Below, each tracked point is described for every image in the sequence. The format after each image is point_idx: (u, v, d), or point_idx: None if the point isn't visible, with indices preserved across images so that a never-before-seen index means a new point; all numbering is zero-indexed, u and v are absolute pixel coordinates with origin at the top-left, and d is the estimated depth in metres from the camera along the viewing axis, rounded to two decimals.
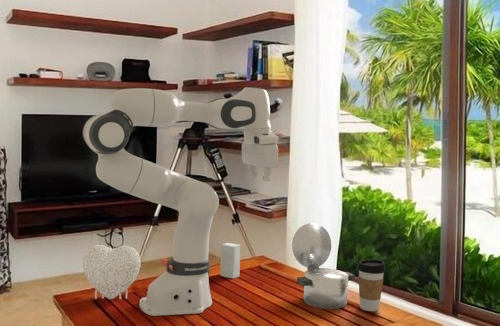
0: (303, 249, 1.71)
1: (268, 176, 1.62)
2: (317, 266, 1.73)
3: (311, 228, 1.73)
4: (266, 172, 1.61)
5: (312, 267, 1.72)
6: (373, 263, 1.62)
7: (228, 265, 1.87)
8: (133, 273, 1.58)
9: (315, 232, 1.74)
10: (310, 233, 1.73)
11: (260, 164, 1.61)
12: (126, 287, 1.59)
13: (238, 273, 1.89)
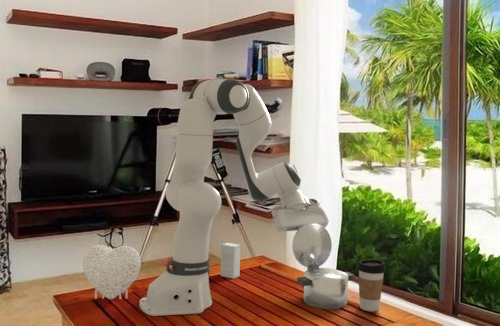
0: (303, 249, 1.71)
1: None
2: (317, 266, 1.73)
3: (312, 228, 1.73)
4: None
5: (312, 267, 1.72)
6: (373, 263, 1.62)
7: (228, 265, 1.87)
8: (133, 273, 1.58)
9: (315, 232, 1.73)
10: (310, 233, 1.73)
11: (316, 222, 1.80)
12: (126, 287, 1.59)
13: (238, 273, 1.89)
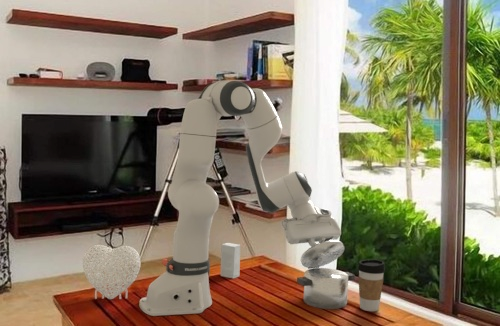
0: (312, 258, 1.66)
1: None
2: (318, 266, 1.73)
3: (329, 245, 1.63)
4: None
5: (312, 267, 1.72)
6: (373, 263, 1.62)
7: (228, 265, 1.87)
8: (133, 273, 1.58)
9: (332, 248, 1.65)
10: (326, 248, 1.64)
11: (329, 233, 1.73)
12: (126, 287, 1.59)
13: (238, 273, 1.89)
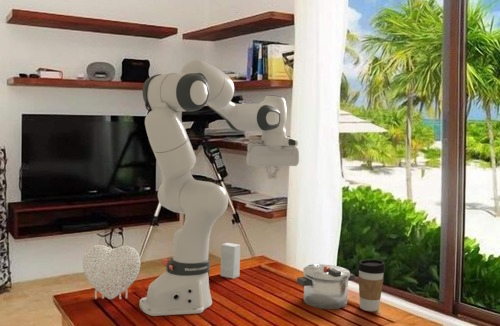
0: None
1: None
2: None
3: None
4: None
5: None
6: (373, 263, 1.62)
7: (228, 265, 1.87)
8: (133, 273, 1.58)
9: None
10: None
11: (286, 163, 1.87)
12: (126, 287, 1.59)
13: (238, 273, 1.89)
